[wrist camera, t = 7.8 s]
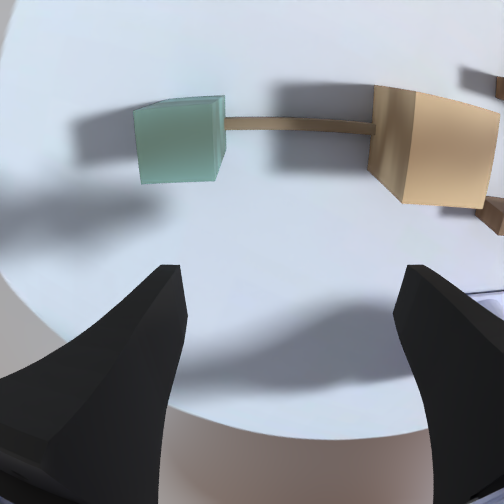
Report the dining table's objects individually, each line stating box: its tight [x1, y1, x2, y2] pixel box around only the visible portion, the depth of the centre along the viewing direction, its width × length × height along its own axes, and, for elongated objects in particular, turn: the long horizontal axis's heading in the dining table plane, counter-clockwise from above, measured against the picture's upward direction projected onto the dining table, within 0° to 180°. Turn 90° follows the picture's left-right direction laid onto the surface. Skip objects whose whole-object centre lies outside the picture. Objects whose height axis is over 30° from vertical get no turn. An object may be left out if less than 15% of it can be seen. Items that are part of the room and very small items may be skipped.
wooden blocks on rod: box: [133, 85, 500, 209], centre depth 14 cm, size 5×16×6 cm, turn 90°
